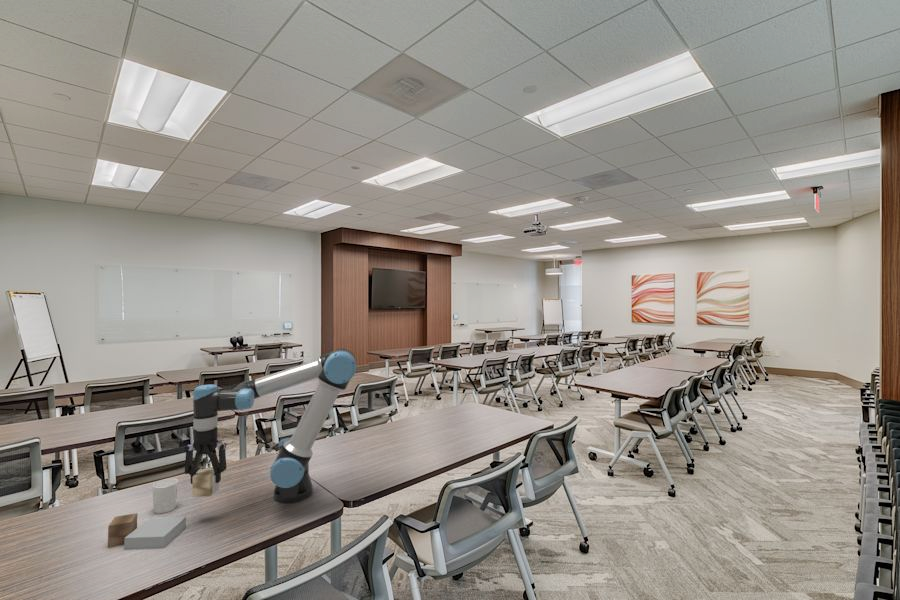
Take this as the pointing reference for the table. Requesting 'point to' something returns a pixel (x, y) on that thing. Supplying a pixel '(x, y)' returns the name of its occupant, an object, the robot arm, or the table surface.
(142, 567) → the table surface
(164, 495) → the white cup
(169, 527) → the grey block
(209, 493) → the maple block
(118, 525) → the walnut block
